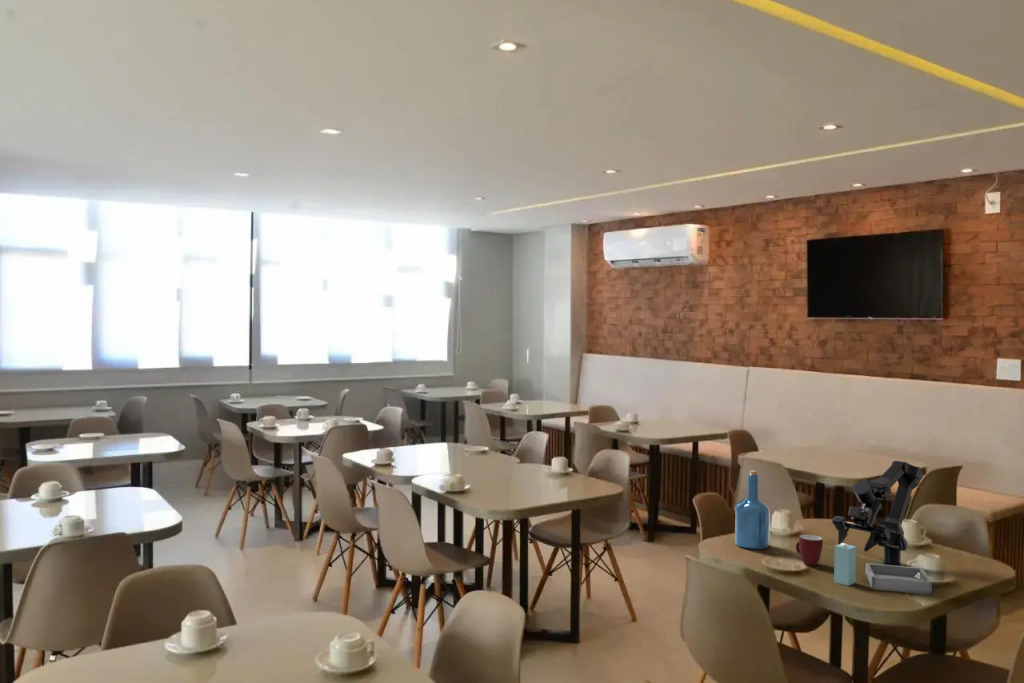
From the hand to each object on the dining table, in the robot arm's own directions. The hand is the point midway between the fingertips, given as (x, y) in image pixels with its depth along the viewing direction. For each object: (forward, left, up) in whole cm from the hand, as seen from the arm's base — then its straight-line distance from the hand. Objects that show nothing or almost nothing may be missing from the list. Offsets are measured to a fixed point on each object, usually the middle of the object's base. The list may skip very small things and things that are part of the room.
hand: (851, 547), depth 273 cm
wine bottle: (-33, -33, -11) cm, 48 cm away
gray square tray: (0, +15, -11) cm, 18 cm away
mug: (-15, -13, -11) cm, 23 cm away
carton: (+4, -2, -11) cm, 12 cm away
